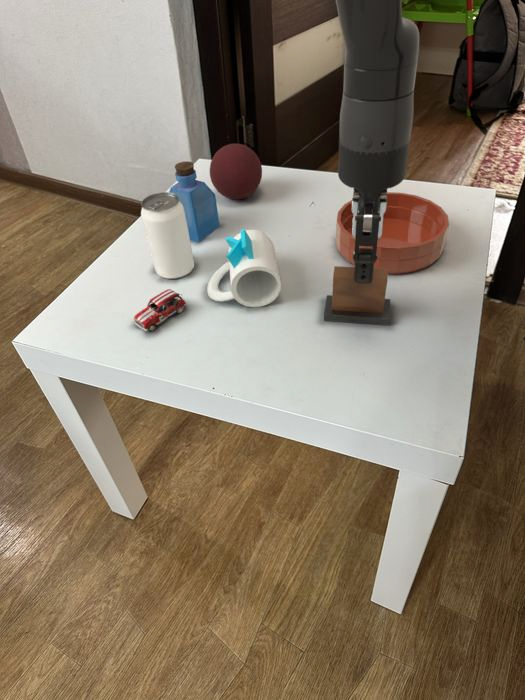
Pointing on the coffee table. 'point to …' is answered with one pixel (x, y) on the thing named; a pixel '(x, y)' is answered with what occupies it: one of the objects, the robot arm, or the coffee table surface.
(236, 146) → the decorative ball
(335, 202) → the coffee table surface
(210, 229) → the perfume bottle
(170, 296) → the toy car
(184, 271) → the can
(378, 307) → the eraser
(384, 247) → the bowl
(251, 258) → the mug
